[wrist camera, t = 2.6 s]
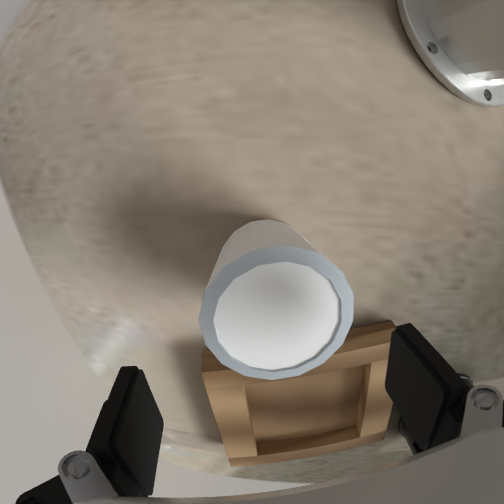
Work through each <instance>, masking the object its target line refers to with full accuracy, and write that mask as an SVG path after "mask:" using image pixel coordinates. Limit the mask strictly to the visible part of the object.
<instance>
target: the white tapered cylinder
mask: <svg viewBox="0 0 504 504" xmlns="http://www.w3.org/2000/svg"><path fill="white" fill-rule="evenodd" d="M353 310H354V295H353V292H352V290H351V288H350V286H349V284H348V282H347V280H346V278H345V276H344V274H343V272H342V270H341V269H339V268H338V267H337V266H336V265H335V264H334V263H333V262H332V261H330V260H329V259H328V258H327V257H326V256H325V255H324V254H322V253H321V252H320V251H319V250H318V249H317V248H315V247H314V246H313V245H312V244H311V243H310V242H309V241H307V240H306V239H305V238H304V237H303V236H302V235H300V234H299V233H298V232H297V231H295V230H294V229H293V228H291V227H290V226H289V225H287V224H286V223H282V222H278V221H274V220H270V219H265V220H258V221H251V222H249V223H247V224H245V225H243V226H242V227H240V228H238V229H237V230H235V231H234V232H233V233H232V234H231V236H230V237H229V238H228V240H227V241H226V242H225V244H224V245H223V247H222V250H221V252H220V255H219V257H218V260H217V262H216V265H215V267H214V270H213V272H212V274H211V277H210V279H209V282H208V284H207V287H206V289H205V292H204V297H203V301H202V306H201V311H200V315H199V322H200V326H201V330H202V334H203V338H204V341H205V344H206V346H207V347H208V348H209V349H210V350H211V352H212V353H213V354H214V355H215V356H216V358H217V359H218V360H219V361H220V362H221V364H223V365H225V366H227V367H229V368H231V369H232V370H234V371H236V372H238V373H240V374H242V375H244V376H248V377H254V378H261V379H268V380H275V379H282V378H288V377H294V376H299V375H301V374H303V373H305V372H307V371H309V370H311V369H313V368H315V367H317V366H319V365H321V364H323V363H324V362H325V361H326V360H327V359H328V358H329V357H330V356H331V355H332V354H333V353H334V352H335V351H336V350H337V349H338V348H339V347H340V346H341V345H342V344H343V342H344V340H345V338H346V336H347V334H348V331H349V329H350V327H351V325H352V322H353Z"/></svg>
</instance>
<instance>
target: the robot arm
mask: <svg viewBox="0 0 504 504" xmlns="http://www.w3.org/2000/svg"><path fill="white" fill-rule="evenodd" d="M397 5H398V9H399V13H400V18H401V21H402V23H403V26H404V28H405V31H406V33H407V36H408V37H409V39H410V41H411V43H412V45H413V46H414V48H415V50H416V52H417V53H418V55H419V56H420V58H421V59H422V60H423V62H424V63H425V65H426V66H427V67H428V69H429V70H430V71H431V72H432V73H433V74H434V76H435V77H436V78H437V79H438V80H439V81H440V82H441V83H442V84H443V85H444V86H446V87H447V88H448V89H449V90H450V91H451V92H453V93H454V94H456V95H457V96H459V97H460V98H461V99H464V100H466V101H468V102H470V103H472V104H475V105H480V106H500V105H504V0H397ZM385 389H386V392H387V393H388V395H389V397H390V398H391V400H392V402H393V403H394V405H395V407H396V408H397V410H398V412H399V413H400V415H401V417H402V419H403V420H404V422H405V424H406V425H407V427H408V429H409V431H410V432H411V434H412V436H413V437H414V439H415V441H416V443H417V444H418V446H419V448H420V449H421V450H425V451H423V452H421V453H418V454H415V455H413V456H410V457H407V458H404V459H402V460H399V461H396V462H393V463H390V464H387V465H384V466H381V467H378V468H374V469H371V470H368V471H364V472H361V473H357V474H354V475H350V476H346V477H342V478H338V479H334V480H330V481H325V482H321V483H316V484H311V485H306V486H301V487H296V488H291V489H284V490H278V491H270V492H263V493H254V494H246V495H235V496H221V497H197V498H153V497H148V495H152V493H153V488H154V481H155V475H156V468H157V462H158V456H159V450H160V444H161V438H162V432H163V426H164V423H163V418H162V416H161V413H160V411H159V409H158V406H157V404H156V402H155V399H154V397H153V395H152V392H151V390H150V387H149V385H148V382H147V380H146V377H145V375H144V372H143V370H141V369H138V367H137V366H123V367H121V368H120V370H119V373H118V375H117V378H116V380H115V383H114V385H113V387H112V390H111V392H110V395H109V398H108V400H106V401H105V402H104V404H103V406H102V409H101V411H100V414H99V417H98V419H97V422H96V424H95V427H94V429H93V432H92V435H91V438H90V440H89V443H88V446H87V448H86V451H73V452H70V453H68V454H67V455H65V456H64V457H63V458H62V459H61V461H60V463H59V465H58V472H59V475H57V476H56V477H54V478H52V479H50V480H48V481H46V482H44V483H42V484H40V485H39V486H37V487H35V488H33V489H31V490H29V491H27V492H25V493H23V494H22V495H20V497H19V498H18V499H17V501H16V504H504V402H503V397H502V395H501V393H500V392H499V391H498V390H497V389H496V388H494V387H492V386H489V385H479V386H475V387H474V388H472V389H470V388H469V387H468V386H467V384H466V383H465V382H464V381H463V379H462V378H461V377H460V376H459V375H458V374H457V373H456V372H455V370H454V369H453V368H452V367H451V366H450V365H449V364H448V363H447V362H446V360H445V359H444V358H443V357H442V356H441V355H440V354H439V353H438V352H437V351H436V349H435V348H434V347H433V346H432V345H431V344H430V343H429V342H428V341H427V340H426V339H425V338H424V337H423V335H422V334H421V333H420V332H419V331H418V330H417V329H416V328H415V327H414V326H413V325H412V324H411V323H407V324H403V325H400V326H397V327H396V328H395V331H392V333H391V341H390V349H389V357H388V364H387V371H386V378H385Z"/></svg>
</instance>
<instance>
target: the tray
mask: <svg viewBox="0 0 504 504" xmlns="http://www.w3.org/2000/svg"><path fill="white" fill-rule="evenodd" d="M395 328H396V326H395V324H394V323H393V322H392V320H391V321H387V322H382V323H378V324H373V325H368V326H363V327H358V328H353V329H349V331H348V334H347V336H346V338H345V340H344V342H343V344H342V345H341V346H340V347H339V348H338V349H337V350H336V351H335V352H334V353H333V354H332V355H331V356H330V357H329V358H328V359H327V360H326V361H325V362H324V363H323V364H321V365H319V366H317V367H315V368H313V369H311V370H309V371H307V372H305V373H303V374H301V375H299V376H294V377H288V378H282V379H275V380H268V379H261V378H254V377H248V376H244V375H242V374H240V373H238V372H236V371H234V370H232V369H231V368H229V367H227V366H225V365H223V364H221V362H220V361H219V360H218V359H217V358H216V356H215V355H214V354H213V353H212V352H211V350H204V353H203V361H202V369H201V374H202V377H203V381H204V384H205V388H206V391H207V394H208V398H209V401H210V404H211V407H212V411H213V414H214V417H215V420H216V423H217V426H218V429H219V432H220V435H221V438H222V441H223V444H224V447H225V450H226V453H227V456H228V459H229V462H230V465H231V467H233V466H245V465H256V464H265V463H273V462H281V461H288V460H294V459H301V458H306V457H312V456H317V455H322V454H327V453H332V452H337V451H341V450H346V449H350V448H354V447H358V446H362V445H366V444H369V443H373V442H377V441H380V440H383V439H384V436H385V432H386V429H387V425H388V421H389V417H390V413H391V409H392V405H393V402H392V400H391V398H390V397H389V395H388V393H387V392H386V389H385V378H386V371H387V364H388V357H389V349H390V341H391V333H392V331H395Z"/></svg>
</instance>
